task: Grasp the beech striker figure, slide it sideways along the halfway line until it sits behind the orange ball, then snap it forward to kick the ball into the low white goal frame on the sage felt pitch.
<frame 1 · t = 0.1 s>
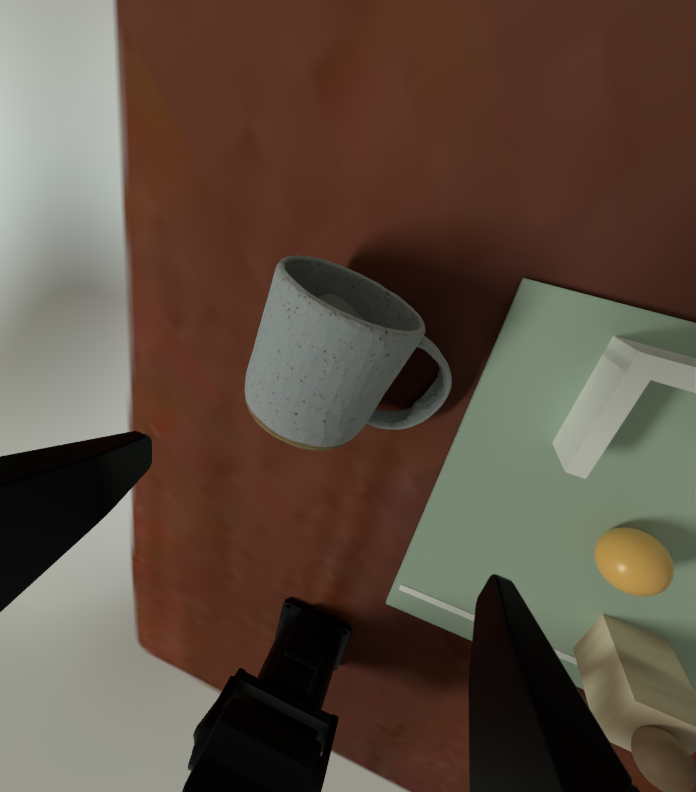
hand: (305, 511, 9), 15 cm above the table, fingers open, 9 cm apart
ball: (631, 560, 20), point 2 cm above the table, touching pitch mat
striker: (618, 644, 25), resting on pitch mat
pitch mat: (613, 539, 22), on the table
ceramic mug: (367, 346, 23), on the table
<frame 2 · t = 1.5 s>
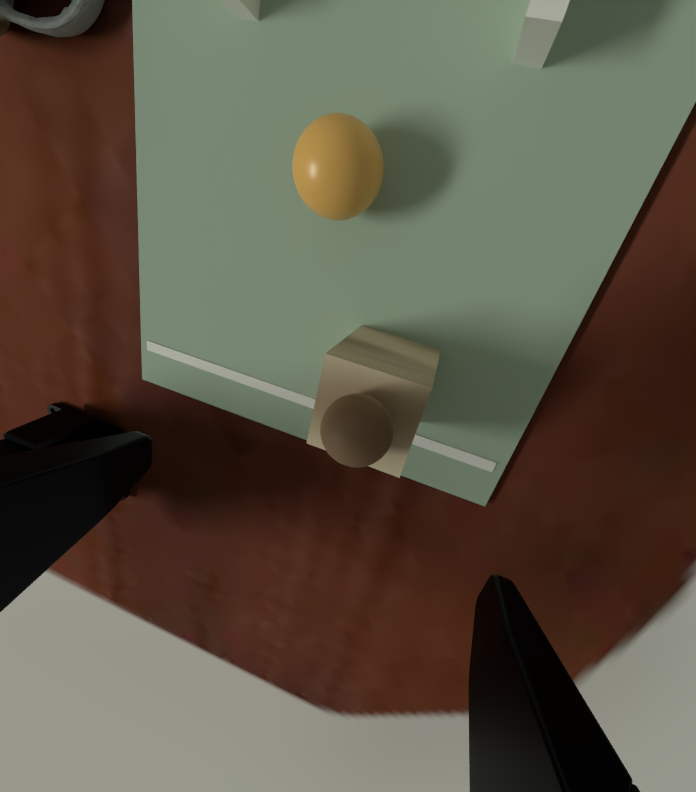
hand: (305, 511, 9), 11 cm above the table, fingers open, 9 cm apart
ball: (338, 170, 14), point 2 cm above the table, touching pitch mat
striker: (389, 374, 18), resting on pitch mat
pitch mat: (350, 191, 16), on the table
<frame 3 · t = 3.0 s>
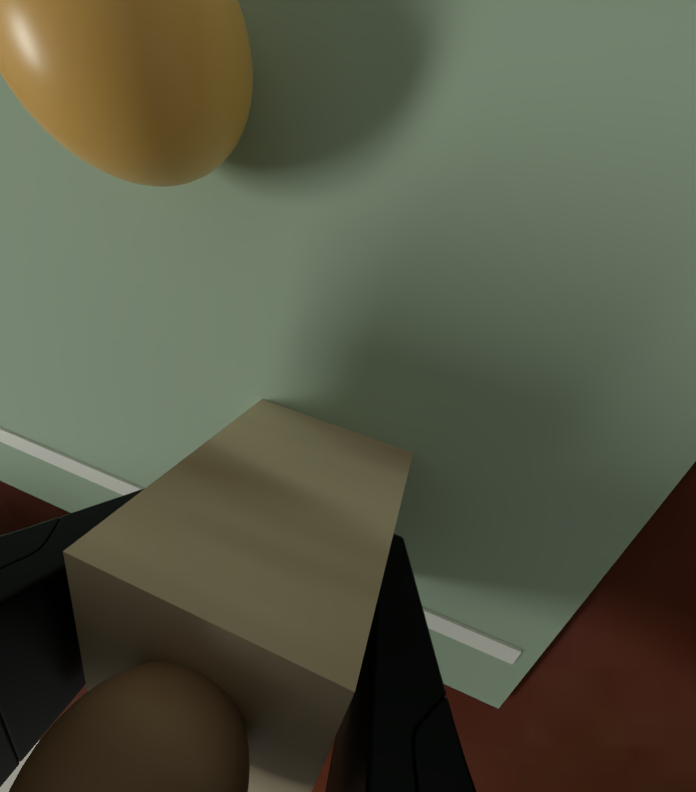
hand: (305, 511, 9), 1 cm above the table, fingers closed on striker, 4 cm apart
ball: (132, 52, 5), point 2 cm above the table, touching pitch mat
striker: (319, 487, 10), resting on pitch mat, touching gripper
pitch mat: (216, 131, 8), on the table
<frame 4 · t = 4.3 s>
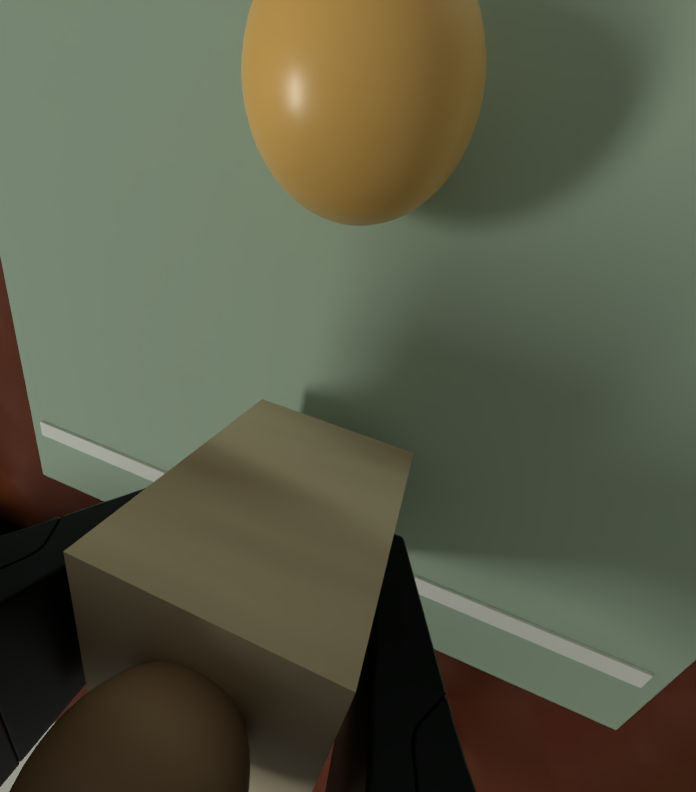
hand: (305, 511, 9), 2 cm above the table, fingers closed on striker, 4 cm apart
ball: (362, 97, 5), point 2 cm above the table, touching pitch mat
striker: (319, 487, 10), point 1 cm above the table, touching gripper
pitch mat: (382, 163, 8), on the table
when the fingers open (2 cm above the table, at t = 5.3 s): striker drops 1 cm, resting on pitch mat.
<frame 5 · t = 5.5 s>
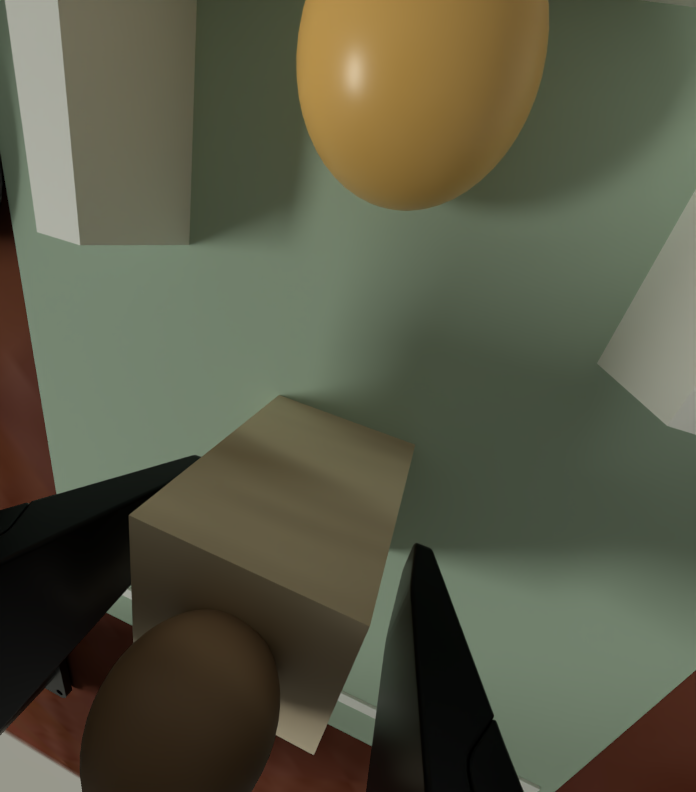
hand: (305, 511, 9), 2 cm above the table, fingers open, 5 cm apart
ball: (414, 78, 5), point 2 cm above the table, tilted 103°, touching pitch mat
goal: (411, 148, 7), resting on pitch mat
striker: (329, 475, 11), resting on pitch mat
pitch mat: (334, 459, 11), on the table
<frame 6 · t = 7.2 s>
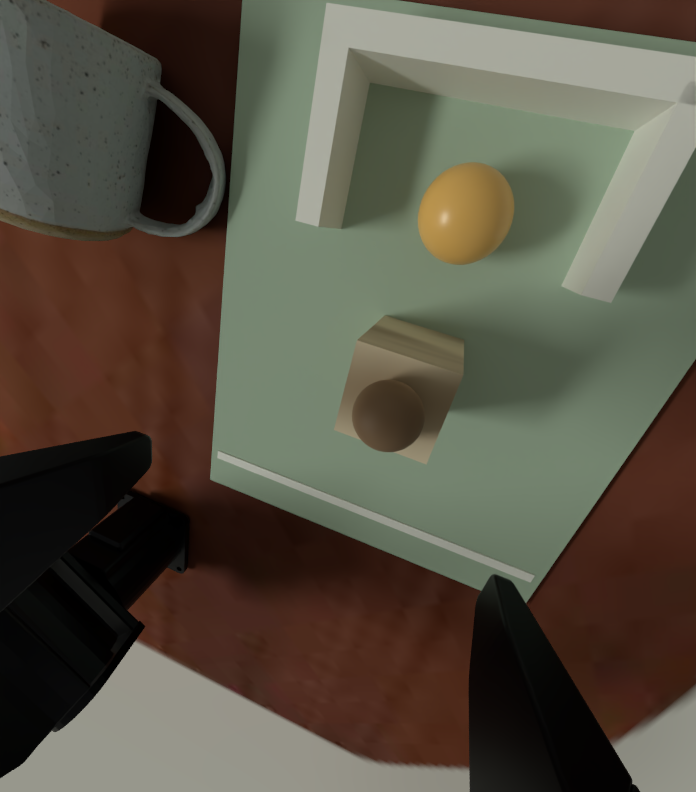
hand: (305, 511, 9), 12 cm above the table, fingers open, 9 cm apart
ball: (464, 216, 14), point 2 cm above the table, tilted 168°, touching pitch mat
goal: (470, 179, 15), resting on pitch mat
striker: (411, 364, 19), resting on pitch mat
pitch mat: (413, 356, 19), on the table
ceramic mug: (147, 146, 19), on the table
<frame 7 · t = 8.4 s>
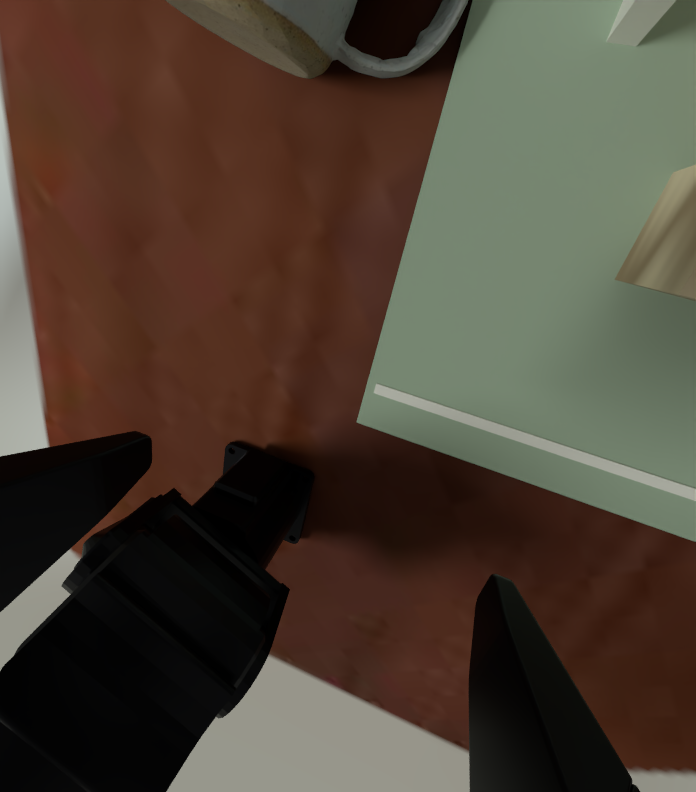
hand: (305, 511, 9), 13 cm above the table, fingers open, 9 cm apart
pitch mat: (694, 233, 14), on the table
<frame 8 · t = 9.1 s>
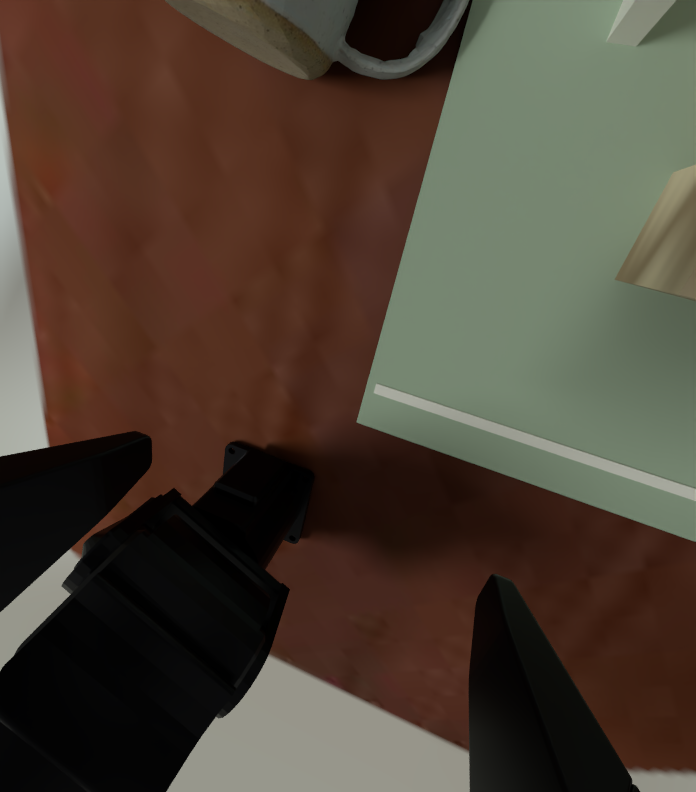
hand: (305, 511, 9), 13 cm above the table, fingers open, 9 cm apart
pitch mat: (694, 233, 14), on the table
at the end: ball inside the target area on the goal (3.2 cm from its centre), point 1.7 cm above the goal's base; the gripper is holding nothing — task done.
